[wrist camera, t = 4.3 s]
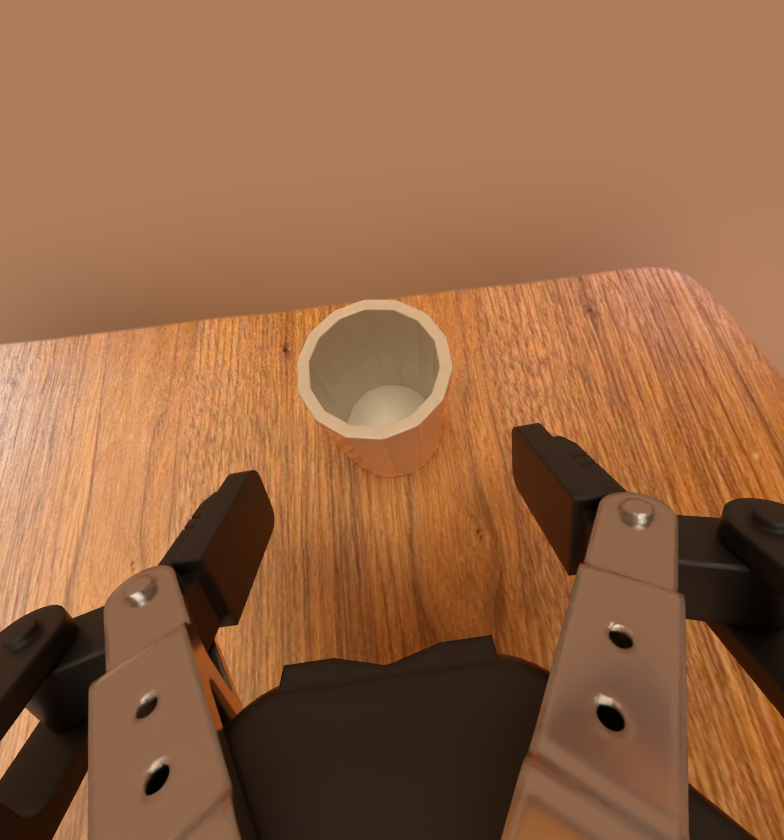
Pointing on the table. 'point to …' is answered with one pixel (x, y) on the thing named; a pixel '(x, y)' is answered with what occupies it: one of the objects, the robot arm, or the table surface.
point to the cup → (378, 384)
